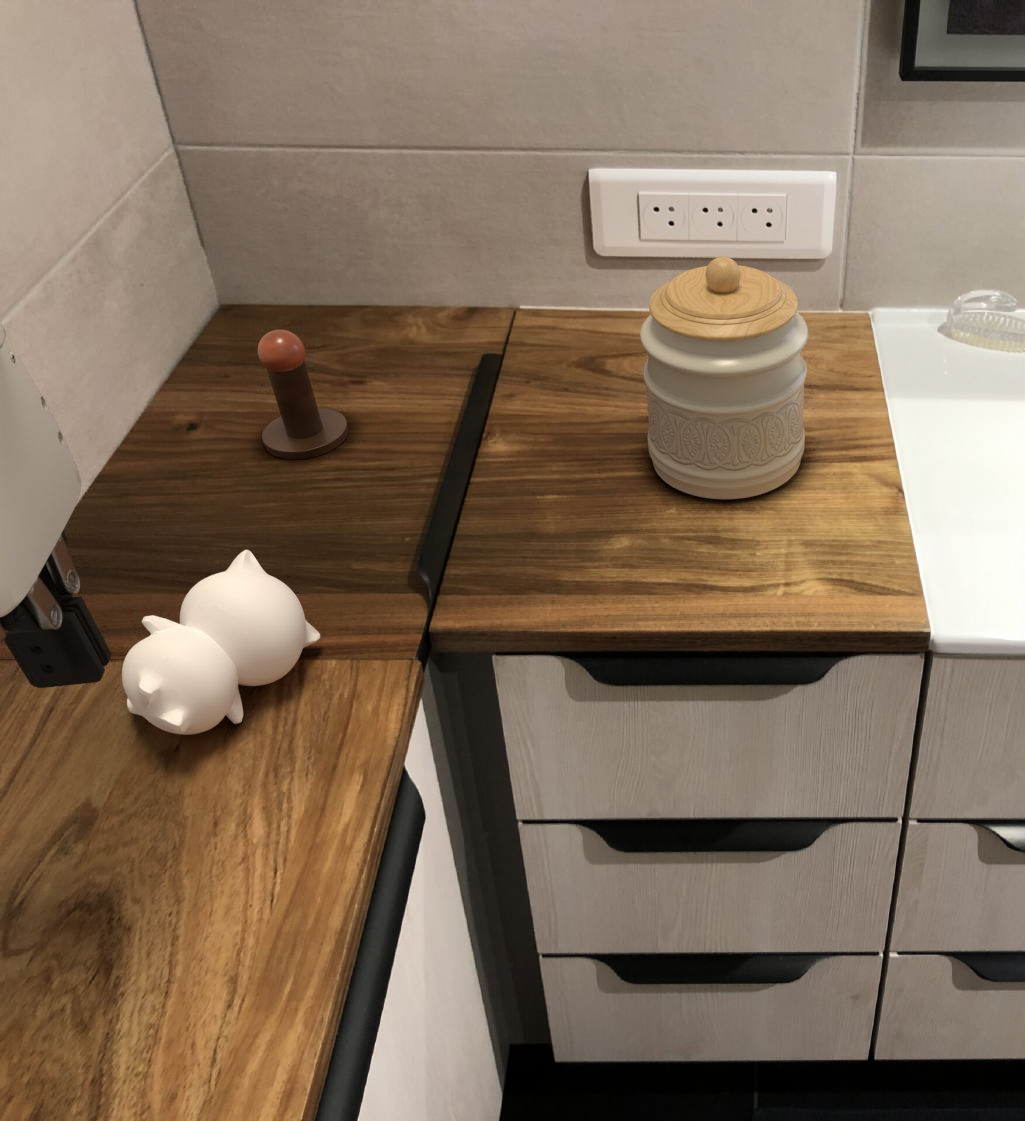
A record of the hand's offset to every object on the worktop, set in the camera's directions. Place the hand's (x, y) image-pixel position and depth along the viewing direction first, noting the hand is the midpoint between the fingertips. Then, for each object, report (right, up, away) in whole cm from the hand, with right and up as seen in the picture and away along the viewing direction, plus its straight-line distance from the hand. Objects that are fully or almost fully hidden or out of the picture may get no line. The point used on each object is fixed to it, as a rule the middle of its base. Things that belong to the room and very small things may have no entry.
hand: (73, 672), depth 54 cm
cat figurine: (-2, -3, +20) cm, 21 cm away
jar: (+30, +14, +41) cm, 53 cm away
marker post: (-6, +16, +44) cm, 47 cm away
